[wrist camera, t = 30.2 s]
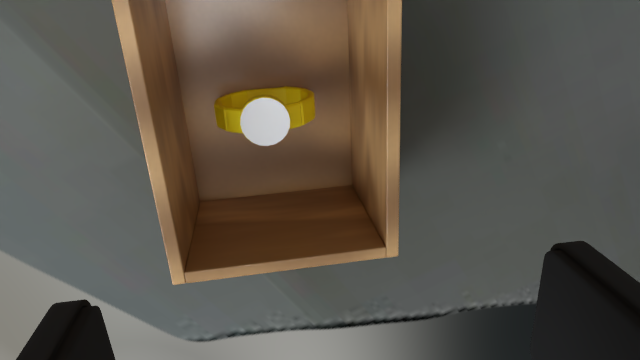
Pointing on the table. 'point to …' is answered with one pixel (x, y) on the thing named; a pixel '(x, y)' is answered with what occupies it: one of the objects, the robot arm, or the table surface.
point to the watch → (265, 112)
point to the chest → (275, 160)
